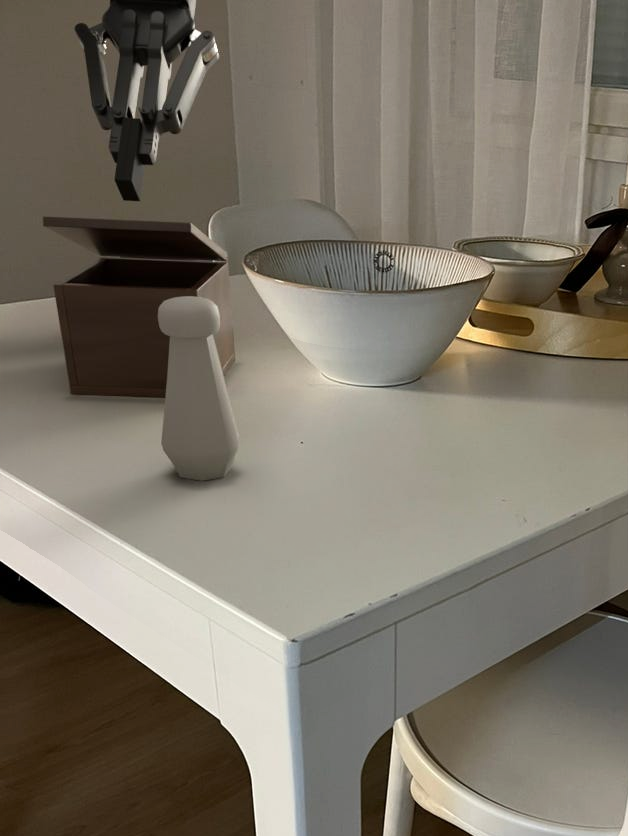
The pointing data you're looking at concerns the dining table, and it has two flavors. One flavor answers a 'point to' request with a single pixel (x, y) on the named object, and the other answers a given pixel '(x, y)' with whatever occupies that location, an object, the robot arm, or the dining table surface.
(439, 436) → the dining table surface
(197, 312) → the salt shaker
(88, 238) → the chest lid
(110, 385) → the chest
